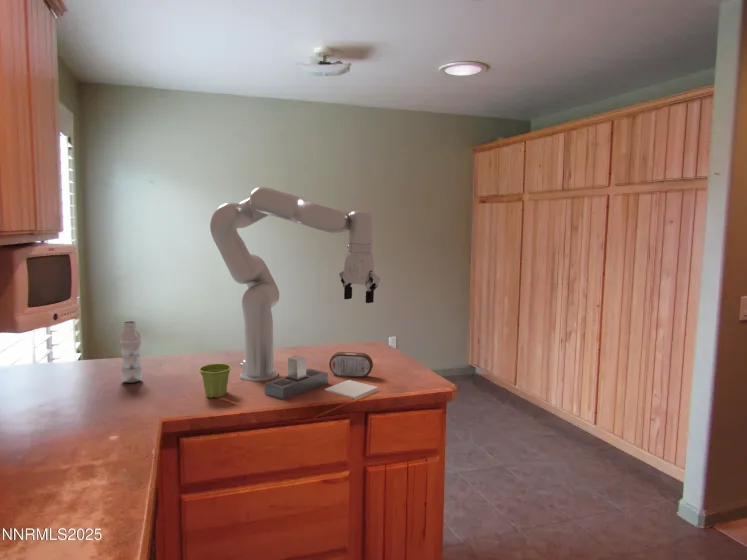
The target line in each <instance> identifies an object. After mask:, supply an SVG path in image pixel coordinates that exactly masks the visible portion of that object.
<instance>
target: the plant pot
mask: <svg viewBox="0 0 747 560" xmlns="http://www.w3.org/2000/svg"><path fill="white" fill-rule="evenodd" d="M231 370H232V365H230V364H227V363H211V364H206V365H203V366H201V367H199V368H198V371H199V372H200V375H201V376H202V380H203V381H202V384H203V388H204V394H205V396H206V398H209V399H212V398H216V399H219V398H221V397H222V396H225V395H226V394H227V391H228V382H229V374H230V371H231Z"/></svg>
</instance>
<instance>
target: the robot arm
mask: <svg viewBox="0 0 747 560" xmlns="http://www.w3.org/2000/svg"><path fill="white" fill-rule="evenodd" d="M269 216H271V217H275V218H279V219H281V220H282V219H283V220H286V221H288V222H292V223H295V224H298V225H303V226H306V227H309V228H313V229H316V230H319V231H323V232H326V233H330V234H341V233H346V232H348V245H347V249H348V252H346V254H345V255H346V256H345V259H344V266H343V270H342V271H341V272H339V274H338V275H339V278H340V282H341V284H342V288H343V289H344V290H343V292H344V293H343V295H344V296H343V299H344V300H350V299H351V300H352V298H353V286H352V285H353V284H354V285H360V286H361V285H362V286H363V285H364V286H365V289H366V291H365V303H366V304H372V303H374V297H375V294H374V293H375V291H376V290H377V288H378V287H379V285H380V281H381V277H379V276H378V275H377V274H375V264H374V256H373V253H372V246H373V245H372V244H373V220H374V219H373V213H372V212H370V211H366V210H352V211H351V210H350V211H349V210H343V209H337V208H336V209H335V208H331V207H327V206H324V205H320V204H317V203H314V202H311V201H308V200H306V199H305V198H304V197H302V196H299V195H295V194H294V195H293V194H290V193H288V192H284V191H281V190H276V189H274V188H272V187H267V186H258V187H256V188H254V189H253V190H252V191H251V192H250V195H249V198H247V199H244V200H242V201H241V202H227V203H222V204H221V205H220V206H218V207H217V208H216V210H215V211H214V212H213V214H212V215H211V219H210V224H209V230H210V234H211V237H212V239H213V241H214V244H215V245H216V248H218V251H219V253H220V255H221V257H222V259H223V261H224V263H225V266H226V267H227V269H228V270H229V273H230V275H231V277H232V279H233V281H235V282H236V283H238V284H240V285H246V286H247V287H248V288H247V289H246V291H245V292H244V294H243V295H242V297H241V298H242V299H241V308H242V314H243V326H244V330H243V331H244V333H243V334H244V360H242V362H241V363H239V367H240V368H243V372H241V373H240V379H241V380H244V381H248V382H249V381H250V382H265V381H269V380H270V381H271V380H274V379H277V377H278V375H279V372H278V370H277V369H274V320H273V314H272V308H273V307H275V306H276V305H277V303H278V302H279V300H280V291H279V288H278V286H277V284H276V282H275V279H274V278H273V276H272V273H271V272H270V271H271V270H269V268H268V265H267V264H266V262H265V261H264V260H263V259H262V258H261V257H260V256H258V255H256V254H251V253H250V252H249V250H248V248H247V246H246V243H245V241H244V240H243V239H242V237H241V236H240V234H239V233H238V229H244V228H247V227H250V226H251V225H253V224H255V223H257V222H259V221H261V220H263V219H264V218H266V217H269Z"/></svg>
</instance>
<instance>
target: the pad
mask: <svg viewBox="0 0 747 560" xmlns="http://www.w3.org/2000/svg"><path fill="white" fill-rule="evenodd" d="M378 390H379V387H378V386H376V385H371V384H367V383H363V382H360V381H355V380H351V379H347V380H345V381H343V382H339V383H336V384H334V385H331V386H329V387H326V388H324V392H327V393H331V394H334V395H335V394H336V395H338V396H339V395H340V396H343V397H347V398H349V399H352V400H353V401H355V400H358V399H360V398H361V399H362V398H363V397H366V396H367V395H370V394H372V393H375V392H376V391H378Z"/></svg>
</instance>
